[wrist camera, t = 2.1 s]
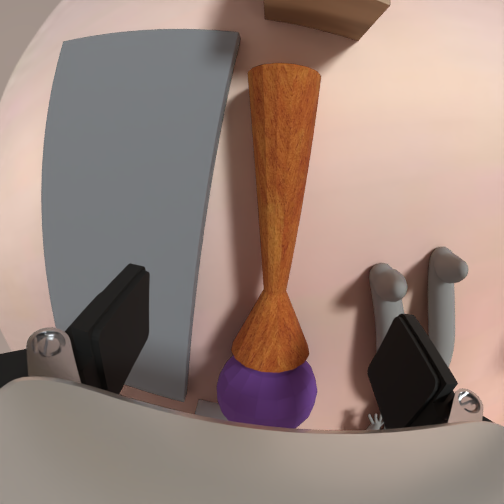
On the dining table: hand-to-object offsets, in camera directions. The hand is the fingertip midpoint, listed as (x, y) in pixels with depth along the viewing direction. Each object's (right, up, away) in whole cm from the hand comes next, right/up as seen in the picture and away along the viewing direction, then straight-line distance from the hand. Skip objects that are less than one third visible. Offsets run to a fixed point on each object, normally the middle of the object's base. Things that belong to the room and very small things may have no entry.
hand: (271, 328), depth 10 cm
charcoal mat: (-9, +4, +6) cm, 11 cm away
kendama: (+1, +2, +6) cm, 7 cm away
